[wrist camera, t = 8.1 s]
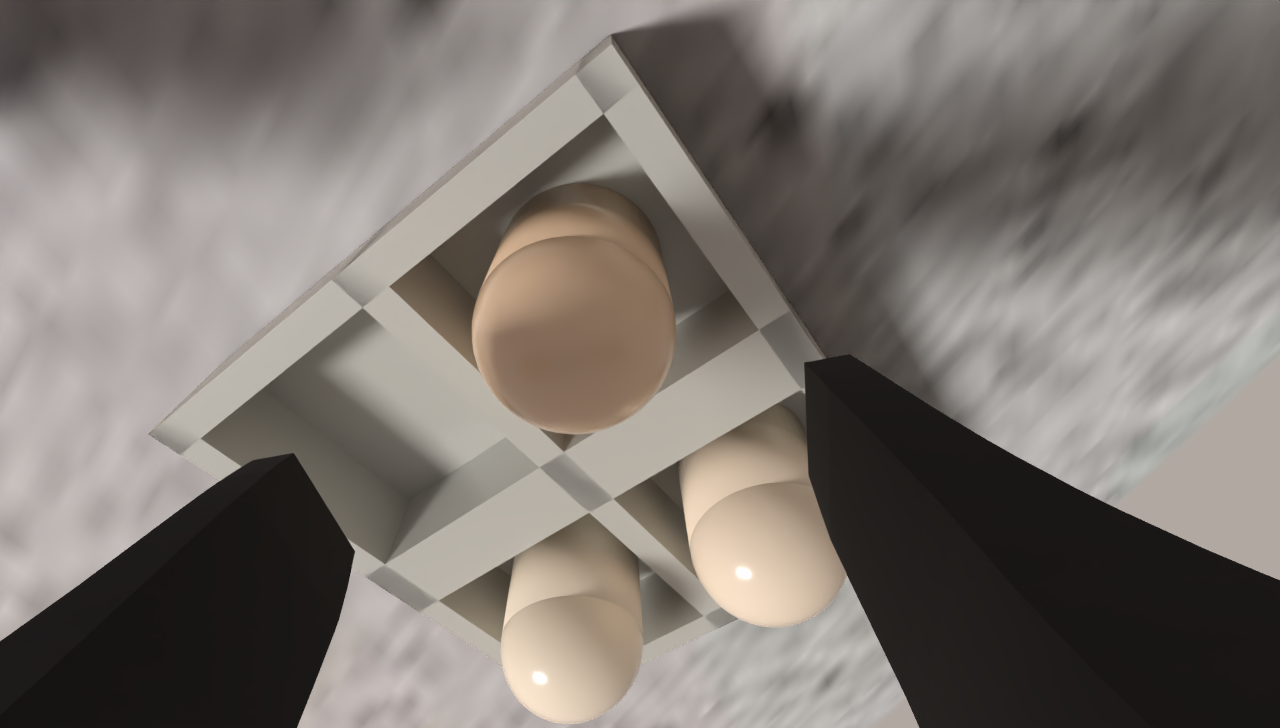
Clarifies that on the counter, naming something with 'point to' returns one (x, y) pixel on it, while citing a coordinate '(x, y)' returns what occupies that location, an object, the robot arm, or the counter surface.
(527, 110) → the carton
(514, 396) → the egg
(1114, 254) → the counter surface
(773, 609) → the pale egg
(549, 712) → the pale egg
